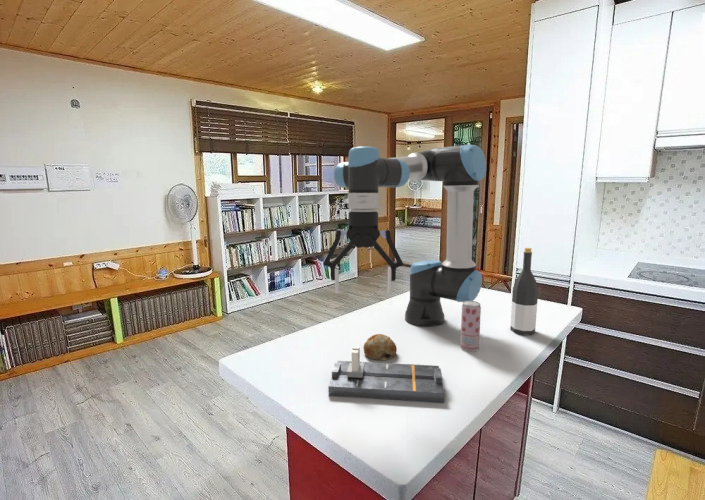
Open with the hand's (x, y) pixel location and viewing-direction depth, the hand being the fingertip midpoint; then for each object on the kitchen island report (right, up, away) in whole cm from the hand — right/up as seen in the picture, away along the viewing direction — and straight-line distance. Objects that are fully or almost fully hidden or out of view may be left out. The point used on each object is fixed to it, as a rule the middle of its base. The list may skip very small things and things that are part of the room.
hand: (363, 292), depth 97 cm
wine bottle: (+58, -18, +36) cm, 71 cm away
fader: (-2, -21, +1) cm, 21 cm away
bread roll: (+5, -21, +19) cm, 29 cm away
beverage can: (+35, -21, +22) cm, 46 cm away
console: (+6, -24, +1) cm, 25 cm away
